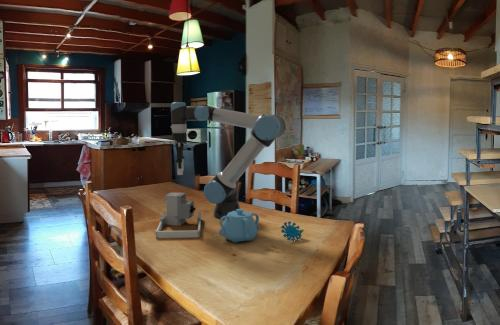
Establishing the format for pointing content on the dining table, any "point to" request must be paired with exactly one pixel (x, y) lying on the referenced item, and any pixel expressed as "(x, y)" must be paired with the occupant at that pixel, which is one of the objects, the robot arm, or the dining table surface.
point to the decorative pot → (239, 226)
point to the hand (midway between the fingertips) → (180, 172)
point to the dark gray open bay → (166, 219)
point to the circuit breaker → (178, 208)
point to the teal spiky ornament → (291, 231)
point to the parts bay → (177, 233)
